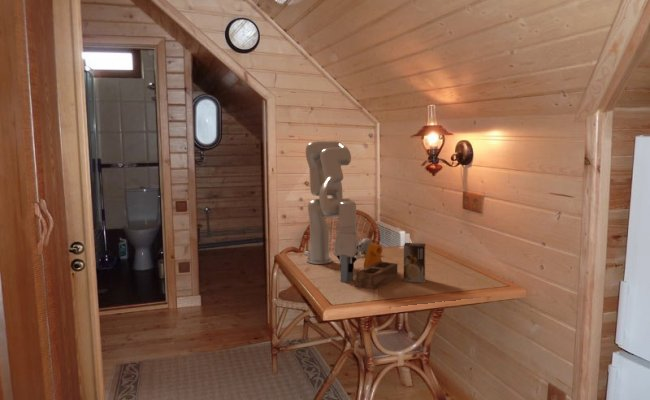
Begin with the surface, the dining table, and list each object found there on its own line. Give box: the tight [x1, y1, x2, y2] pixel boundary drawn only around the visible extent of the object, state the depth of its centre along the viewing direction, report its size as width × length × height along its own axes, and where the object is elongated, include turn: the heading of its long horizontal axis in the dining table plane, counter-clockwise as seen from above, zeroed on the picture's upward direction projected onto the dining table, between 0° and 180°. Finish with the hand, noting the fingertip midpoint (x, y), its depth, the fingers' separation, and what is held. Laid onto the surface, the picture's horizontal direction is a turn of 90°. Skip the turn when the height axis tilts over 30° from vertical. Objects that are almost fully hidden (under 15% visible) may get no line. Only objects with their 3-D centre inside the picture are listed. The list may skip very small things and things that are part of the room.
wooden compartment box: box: [355, 260, 398, 290], centre depth 218 cm, size 9×22×6 cm, turn 148°
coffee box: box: [403, 242, 426, 284], centre depth 219 cm, size 9×6×16 cm
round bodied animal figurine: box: [359, 237, 374, 255], centre depth 267 cm, size 7×12×8 cm, turn 135°
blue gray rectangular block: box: [340, 254, 354, 283], centre depth 219 cm, size 3×6×12 cm, turn 148°
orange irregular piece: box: [363, 242, 384, 269], centre depth 238 cm, size 11×7×12 cm, turn 134°
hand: (347, 270), depth 220 cm, fingers closed on blue gray rectangular block, 3 cm apart
